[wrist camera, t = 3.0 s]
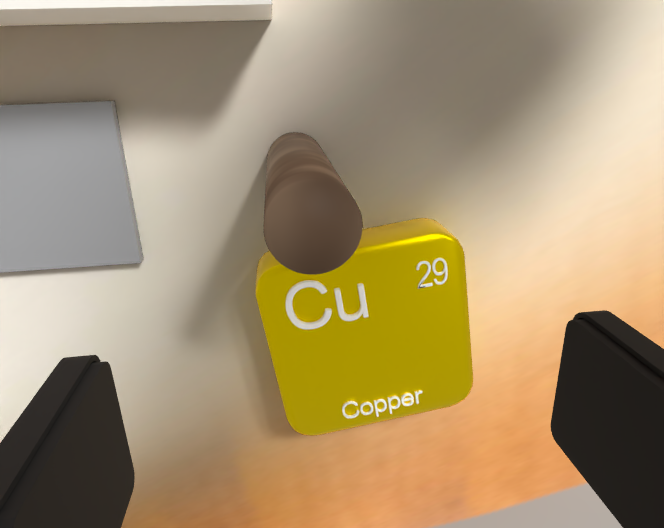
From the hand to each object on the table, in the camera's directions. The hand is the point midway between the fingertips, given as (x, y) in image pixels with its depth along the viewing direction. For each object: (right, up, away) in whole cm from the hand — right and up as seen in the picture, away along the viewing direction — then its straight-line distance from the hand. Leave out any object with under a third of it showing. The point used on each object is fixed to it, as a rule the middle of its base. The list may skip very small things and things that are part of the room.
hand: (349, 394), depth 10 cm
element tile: (+2, -2, +30) cm, 31 cm away
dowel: (-3, +10, +25) cm, 27 cm away
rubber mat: (-20, +8, +23) cm, 32 cm away
